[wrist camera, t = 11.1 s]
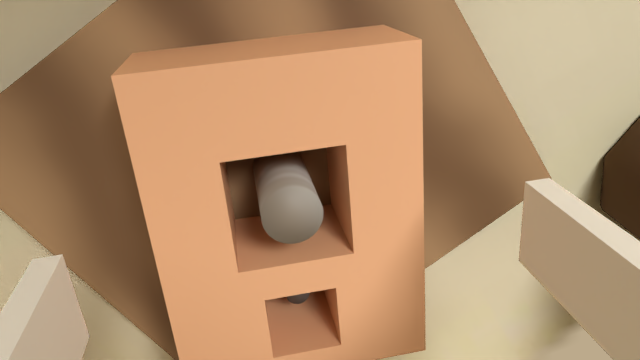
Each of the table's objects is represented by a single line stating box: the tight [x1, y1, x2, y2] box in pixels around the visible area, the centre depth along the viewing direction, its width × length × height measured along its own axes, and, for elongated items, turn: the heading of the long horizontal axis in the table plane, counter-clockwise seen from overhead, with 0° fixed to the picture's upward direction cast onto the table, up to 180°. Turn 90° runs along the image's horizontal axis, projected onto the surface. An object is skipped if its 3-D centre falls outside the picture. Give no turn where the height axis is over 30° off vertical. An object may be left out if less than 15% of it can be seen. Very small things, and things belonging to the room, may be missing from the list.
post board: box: [0, 0, 551, 360], centre depth 22 cm, size 20×18×6 cm
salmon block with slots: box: [111, 25, 425, 360], centre depth 22 cm, size 13×10×4 cm
